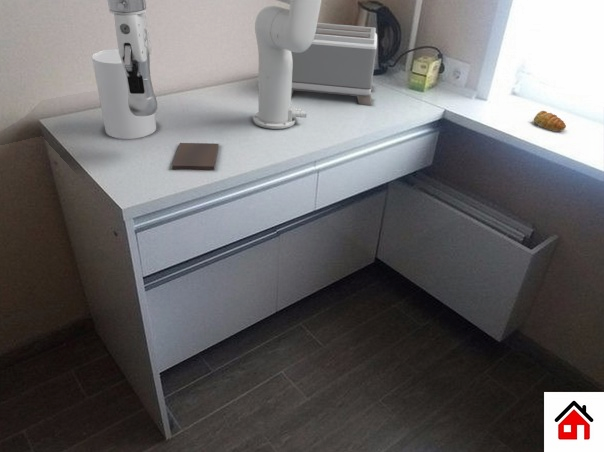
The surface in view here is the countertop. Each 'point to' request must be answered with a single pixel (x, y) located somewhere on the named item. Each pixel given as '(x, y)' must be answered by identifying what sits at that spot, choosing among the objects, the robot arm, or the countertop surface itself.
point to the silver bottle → (146, 101)
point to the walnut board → (196, 156)
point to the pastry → (549, 121)
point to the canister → (118, 98)
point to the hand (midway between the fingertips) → (140, 87)
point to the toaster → (337, 62)
